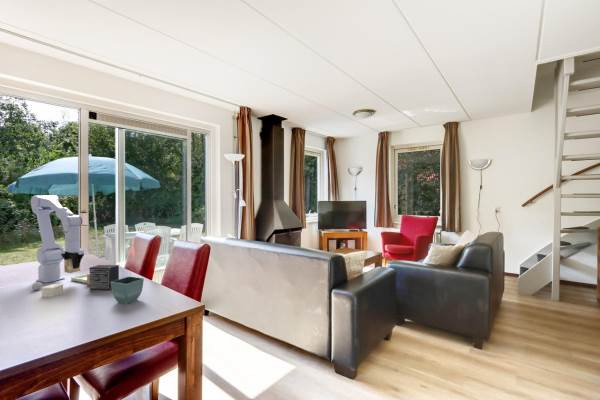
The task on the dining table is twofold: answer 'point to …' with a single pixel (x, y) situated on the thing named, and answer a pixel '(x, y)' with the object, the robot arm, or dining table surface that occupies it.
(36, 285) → the grey ball
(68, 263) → the maple block
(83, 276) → the tray
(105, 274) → the small box
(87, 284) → the peach rounded cylinder
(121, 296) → the flower pot
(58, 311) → the dining table surface
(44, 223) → the robot arm
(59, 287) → the cream block
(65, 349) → the dining table surface
